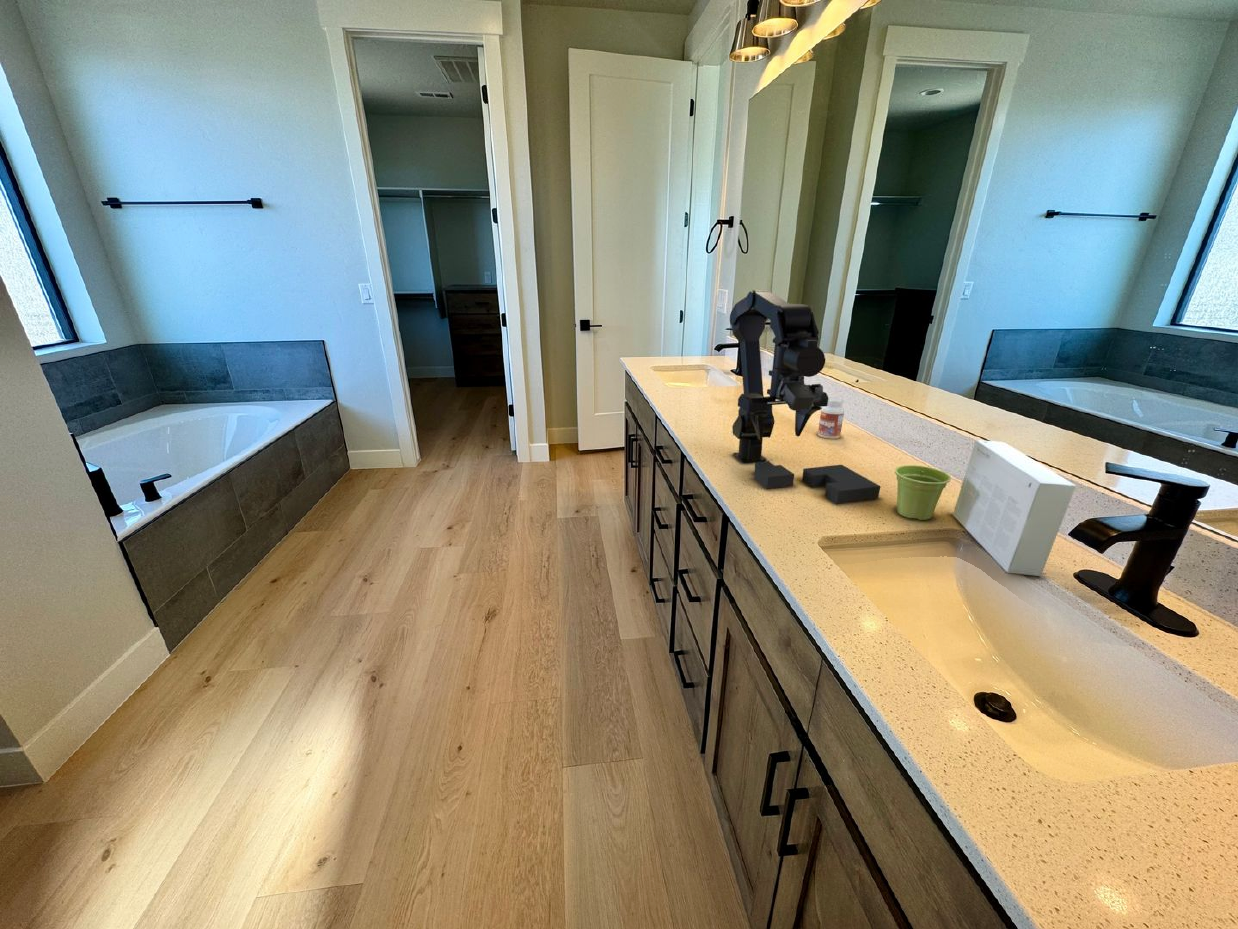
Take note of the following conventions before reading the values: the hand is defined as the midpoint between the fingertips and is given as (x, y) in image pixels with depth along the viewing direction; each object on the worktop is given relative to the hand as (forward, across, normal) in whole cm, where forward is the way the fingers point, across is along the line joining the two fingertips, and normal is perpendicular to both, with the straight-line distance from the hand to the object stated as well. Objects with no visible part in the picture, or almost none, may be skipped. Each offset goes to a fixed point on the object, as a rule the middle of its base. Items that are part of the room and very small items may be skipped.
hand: (778, 437), depth 109 cm
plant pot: (+11, +19, -21) cm, 30 cm away
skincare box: (+11, +24, -34) cm, 43 cm away
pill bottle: (+11, +33, +27) cm, 44 cm away
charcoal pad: (+11, +12, -7) cm, 18 cm away
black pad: (+11, 0, +1) cm, 11 cm away
